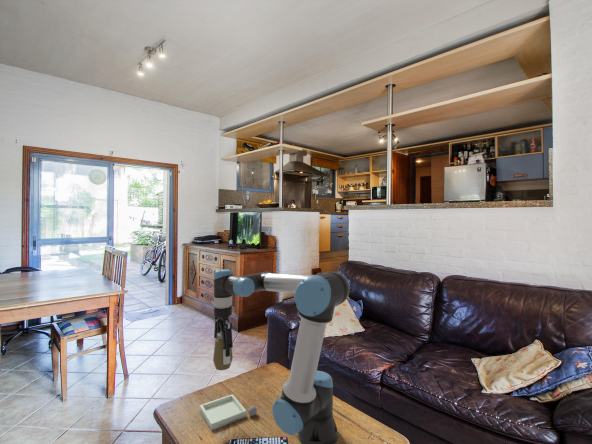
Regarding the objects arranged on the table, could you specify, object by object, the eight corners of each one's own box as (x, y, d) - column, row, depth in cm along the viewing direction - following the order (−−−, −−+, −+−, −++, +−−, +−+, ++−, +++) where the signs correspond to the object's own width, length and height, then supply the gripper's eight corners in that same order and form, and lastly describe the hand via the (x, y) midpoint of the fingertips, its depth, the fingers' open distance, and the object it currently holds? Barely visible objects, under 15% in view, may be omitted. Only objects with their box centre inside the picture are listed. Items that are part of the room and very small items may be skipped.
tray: (246, 416, 125) (246, 410, 125) (211, 430, 117) (211, 424, 117) (232, 399, 138) (232, 394, 138) (199, 411, 129) (199, 405, 129)
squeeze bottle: (230, 372, 123) (230, 328, 124) (210, 372, 124) (210, 328, 124) (234, 363, 131) (234, 322, 132) (216, 363, 132) (216, 322, 132)
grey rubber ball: (258, 415, 126) (258, 407, 126) (250, 419, 124) (250, 410, 124) (254, 411, 129) (254, 403, 129) (246, 414, 127) (246, 405, 127)
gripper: (241, 310, 121) (241, 366, 121) (222, 300, 139) (222, 349, 138) (223, 313, 117) (223, 372, 117) (206, 302, 134) (206, 353, 134)
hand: (223, 359), depth 128 cm, fingers closed on squeeze bottle, 8 cm apart
